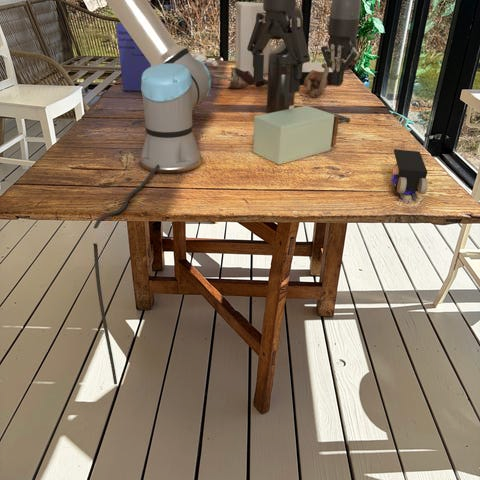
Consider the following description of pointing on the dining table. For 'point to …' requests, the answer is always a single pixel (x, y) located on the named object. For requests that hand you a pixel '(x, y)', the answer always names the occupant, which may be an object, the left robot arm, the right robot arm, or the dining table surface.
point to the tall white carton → (248, 36)
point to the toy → (203, 59)
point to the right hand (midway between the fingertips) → (336, 85)
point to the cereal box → (130, 60)
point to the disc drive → (317, 67)
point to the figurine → (240, 79)
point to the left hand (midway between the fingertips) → (275, 86)
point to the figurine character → (409, 173)
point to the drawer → (337, 120)
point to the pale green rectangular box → (292, 134)
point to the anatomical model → (316, 81)
